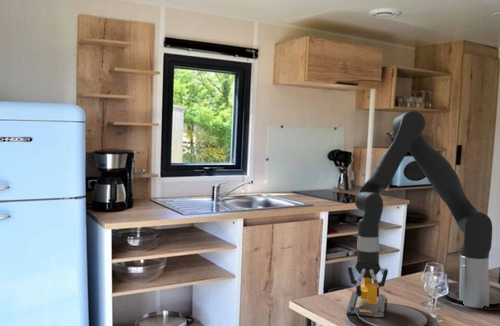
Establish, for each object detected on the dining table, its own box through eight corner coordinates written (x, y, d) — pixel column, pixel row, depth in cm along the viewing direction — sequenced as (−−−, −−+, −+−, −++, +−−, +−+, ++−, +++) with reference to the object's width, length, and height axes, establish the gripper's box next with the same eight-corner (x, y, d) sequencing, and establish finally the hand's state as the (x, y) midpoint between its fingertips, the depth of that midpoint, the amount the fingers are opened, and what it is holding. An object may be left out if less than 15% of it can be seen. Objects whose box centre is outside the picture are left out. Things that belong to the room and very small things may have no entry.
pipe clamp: (358, 293, 171) (358, 275, 171) (370, 293, 170) (370, 275, 170) (363, 303, 159) (364, 285, 159) (376, 304, 158) (377, 285, 158)
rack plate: (385, 297, 173) (385, 292, 173) (384, 318, 152) (384, 312, 152) (352, 294, 177) (352, 289, 177) (346, 314, 156) (346, 308, 156)
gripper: (389, 247, 165) (388, 295, 166) (348, 245, 170) (347, 291, 170) (389, 252, 158) (388, 302, 159) (346, 249, 162) (345, 298, 163)
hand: (367, 296), depth 164 cm, fingers closed on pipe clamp, 5 cm apart
